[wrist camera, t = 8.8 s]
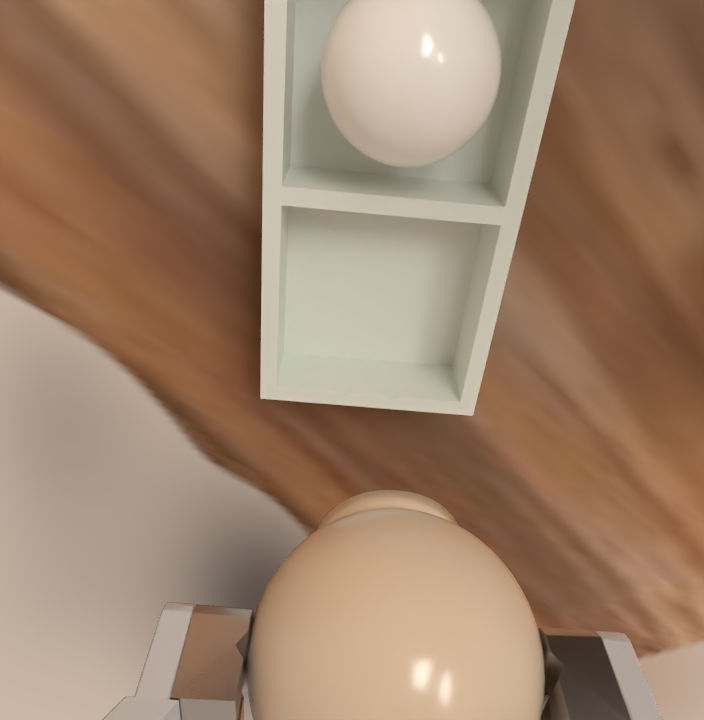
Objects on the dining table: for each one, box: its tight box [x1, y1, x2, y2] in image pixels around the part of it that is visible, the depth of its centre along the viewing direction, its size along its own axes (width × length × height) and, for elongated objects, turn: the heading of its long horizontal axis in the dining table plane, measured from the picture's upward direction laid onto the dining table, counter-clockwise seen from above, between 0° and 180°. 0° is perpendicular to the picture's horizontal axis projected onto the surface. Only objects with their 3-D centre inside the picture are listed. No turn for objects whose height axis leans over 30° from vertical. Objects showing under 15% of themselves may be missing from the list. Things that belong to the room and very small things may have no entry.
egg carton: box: [260, 0, 575, 416], centre depth 19 cm, size 8×23×4 cm, turn 175°
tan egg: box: [246, 490, 545, 720], centre depth 10 cm, size 5×5×5 cm
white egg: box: [321, 0, 501, 168], centre depth 17 cm, size 5×5×5 cm
